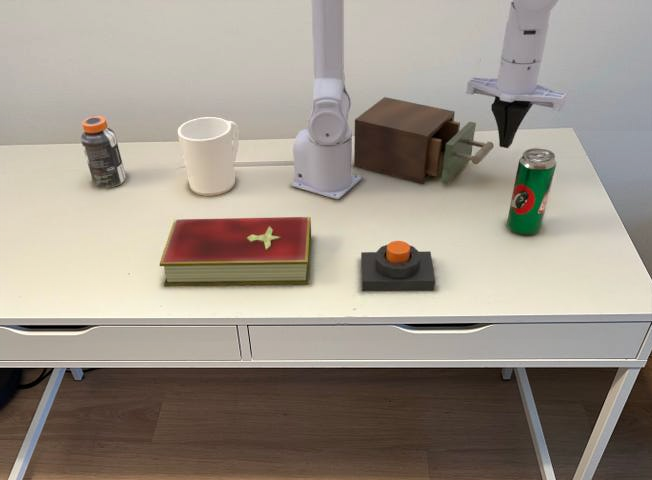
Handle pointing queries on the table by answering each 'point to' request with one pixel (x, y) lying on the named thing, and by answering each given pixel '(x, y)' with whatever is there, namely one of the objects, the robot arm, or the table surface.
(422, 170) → the cabinet
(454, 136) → the drawer
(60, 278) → the table surface
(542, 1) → the robot arm
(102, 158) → the pill bottle
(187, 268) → the hardcover book
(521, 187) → the soda can
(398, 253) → the button
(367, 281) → the button block
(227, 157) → the mug
